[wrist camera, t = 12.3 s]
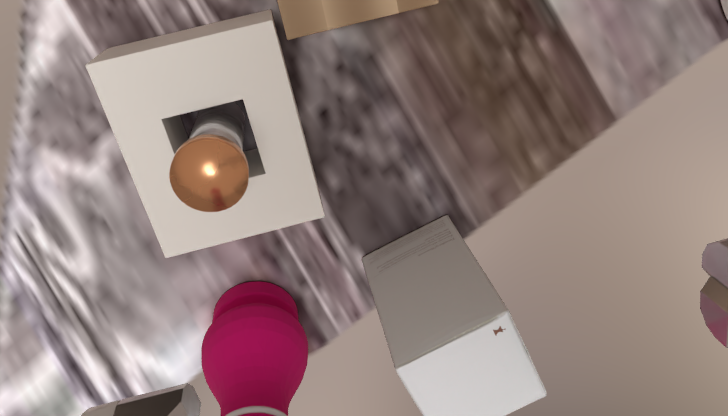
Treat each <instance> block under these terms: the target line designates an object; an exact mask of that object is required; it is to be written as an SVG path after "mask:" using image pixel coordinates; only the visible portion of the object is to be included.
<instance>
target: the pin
mask: <svg viewBox="0 0 728 416" xmlns="http://www.w3.org/2000/svg"><path fill="white" fill-rule="evenodd" d="M244 129H245V117H244V113H243V111H242V109H241V108H240V107H239V106H238V105H237V104H236V103H235V102H229V103H225V104H221V105H217V106H213V107H209V108H205V109H201V110H199V112H198V115H197V118H196V120H195V123H194V126H193V129H192V132H191V135H190V138H189V140H187V141H186V142H184V143H183V144H182V145H181V146H180V147H179V148H178V150H177V152H176V153H175V156H174V158H173V160H172V163H171V166H170V172H169V178H170V183H171V186H172V189H173V191H174V193H175V194H176V196H177V197H178V198H179V199H180V200H181V201H182V202H183V203H185V204H186V205H187V206H189V207H191V208H193V209H196V210H199V211H203V212H218V211H222V210H225V209H228V208H230V207H232V206H233V205H235V204H236V203H237V202H238V201H239V200H240V199H241V198H242V197H243V195H244V193H245V191H246V189H247V186H248V180H249V166H248V161H247V159H246V156H245V154H244V153H243V141H244Z"/></svg>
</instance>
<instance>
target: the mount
mask: <svg viewBox="0 0 728 416" xmlns="http://www.w3.org/2000/svg"><path fill="white" fill-rule="evenodd" d="M277 2H278V6H279V10H280V14H281V17H282V21H283V25H284V29H285V33H286V37H287V40H290V39H294V38H298V37H302V36H306V35H310V34H314V33H318V32H323V31H327V30H331V29H335V28H339V27H343V26H347V25H351V24H356V23H360V22H364V21H368V20H372V19H376V18H380V17H384V16H389V15H393V14H397V13H401V12H405V11H409V10H413V9H417V8H422V7H426V6H430V5H434V4H438V3H439V1H438V0H277Z"/></svg>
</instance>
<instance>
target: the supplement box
mask: <svg viewBox="0 0 728 416" xmlns="http://www.w3.org/2000/svg"><path fill="white" fill-rule="evenodd" d="M362 262H363V266H364V269H365V272H366V276H367V279H368V282H369V285H370V289H371V292H372V295H373V298H374V302H375V305H376V308H377V311H378V314H379V317H380V321H381V324H382V327H383V330H384V334H385V337H386V340H387V343H388V347H389V350H390V353H391V357H392V360H393V363H394V367H395V370H396V372H397V374H398V376H399V377H400V379H401V381H402V383H403V384H404V386H405V387H406V389H407V391H408V392H409V394H410V396H411V397H412V399H413V401H414V402H415V404H416V405H417V407H418V409H419V410H420V412H421V413H422V415H423V416H505V415H507V414H509V413H511V412H513V411H515V410H517V409H519V408H521V407H524V406H526V405H528V404H530V403H532V402H534V401H536V400H539V399H541V398H543V397H545V396H546V395H547V394H546V390H545V388H544V386H543V384H542V381H541V379H540V377H539V375H538V373H537V370H536V368H535V366H534V364H533V362H532V360H531V358H530V355H529V353H528V350H527V348H526V347H525V345H524V343H523V341H522V338H521V336H520V334H519V332H518V330H517V327H516V325H515V323H514V321H513V319H512V316H511V314H510V312H509V310H508V309H507V307H506V306H505V304H504V302H503V301H502V299H501V298H500V296H499V295H498V293H497V292H496V290H495V288H494V287H493V285H492V284H491V282H490V281H489V279H488V277H487V276H486V274H485V273H484V271H483V270H482V268H481V266H480V265H479V263H478V262H477V260H476V259H475V257H474V256H473V254H472V252H471V251H470V249H469V248H468V246H467V245H466V243H465V242H464V240H463V238H462V237H461V235H460V234H459V232H458V230H457V229H456V227H455V226H454V224H453V223H452V221H451V219H450V218H449V216H448V215H445V216H443V217H441V218H439V219H437V220H435V221H433V222H431V223H429V224H427V225H425V226H423V227H421V228H419V229H417V230H415V231H413V232H411V233H409V234H407V235H405V236H403V237H401V238H399V239H397V240H395V241H393V242H391V243H389V244H387V245H385V246H383V247H382V248H380V249H378V250H375V251H374V252H372V253H370V254H368V255H366V256H365V257H363V258H362Z"/></svg>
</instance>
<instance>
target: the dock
mask: <svg viewBox="0 0 728 416" xmlns="http://www.w3.org/2000/svg"><path fill="white" fill-rule="evenodd" d="M86 68H87V70H88V73H89V75H90V77H91V80H92V82H93V85H94V87H95V89H96V92H97V94H98V97H99V99H100V102H101V104H102V106H103V109H104V111H105V114H106V116H107V118H108V121H109V123H110V126H111V128H112V130H113V133H114V135H115V138H116V140H117V142H118V145H119V147H120V150H121V152H122V154H123V157H124V159H125V162H126V164H127V166H128V169H129V171H130V174H131V176H132V179H133V181H134V183H135V186H136V188H137V191H138V193H139V195H140V198H141V200H142V203H143V205H144V207H145V210H146V212H147V215H148V217H149V219H150V222H151V224H152V227H153V229H154V231H155V234H156V236H157V239H158V241H159V243H160V246H161V248H162V251H163V253H164V256H165V258H168V257H172V256H176V255H180V254H184V253H188V252H191V251H195V250H199V249H203V248H207V247H211V246H215V245H218V244H222V243H226V242H230V241H234V240H238V239H242V238H246V237H249V236H253V235H257V234H261V233H265V232H269V231H273V230H277V229H280V228H284V227H288V226H292V225H296V224H300V223H304V222H307V221H311V220H315V219H319V218H323V217H325V215H324V211H323V206H322V202H321V197H320V193H319V188H318V184H317V180H316V177H315V173H314V169H313V165H312V162H311V158H310V154H309V150H308V146H307V143H306V139H305V135H304V131H303V128H302V124H301V120H300V116H299V113H298V109H297V105H296V101H295V98H294V94H293V90H292V86H291V83H290V79H289V75H288V71H287V68H286V64H285V60H284V56H283V53H282V49H281V45H280V41H279V37H278V34H277V30H276V26H275V22H274V19H273V15H272V11H271V9H270V10H266V11H261V12H257V13H253V14H249V15H245V16H240V17H236V18H232V19H228V20H224V21H220V22H215V23H211V24H207V25H203V26H199V27H195V28H190V29H186V30H182V31H178V32H174V33H169V34H165V35H161V36H157V37H153V38H149V39H144V40H140V41H136V42H132V43H128V44H124V45H119V46H115V47H111V48H107V49H106V50H105V51H103V52H102V53H101V54H99V55H98V56H97V57H95V58H94V59H93V60H91V61H90V62H89V63H87V64H86ZM241 99H243V101H244V104H245V108H246V111H247V114H248V117H249V121H250V124H251V127H252V130H253V134H254V137H255V140H256V144H257V147H258V148H257V149H253V150H249V151H245V152H243V153H244V154H245V156H246V159H247V161H248V166H249V180H248V186H247V189H246V191H245V193H244V195H243V197H242V198H241V199H240V200H239V201H238V202H237V203H236V204H235V205H233V206H232V207H230V208H228V209H225V210H222V211H218V212H203V211H199V210H196V209H193V208H191V207H189V206H187V205H186V204H185V203H183V202H182V201H181V200H180V199H179V198H178V197H177V196H176V194H175V193H174V191H173V189H172V186H171V183H170V178H169V172H170V166H171V163H172V160H173V158H174V156H175V153H176V152H177V150H178V148H179V147H180V146H181V145H182V144H183V143H184V142H186V141H187V140H189V139H188V136H187V134H186V131H185V128H184V125H183V123H182V120H181V117H180V114H184V113H189V112H193V111H197V110H201V109H205V108H209V107H213V106H217V105H221V104H225V103H229V102H233V101H237V100H241Z"/></svg>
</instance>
